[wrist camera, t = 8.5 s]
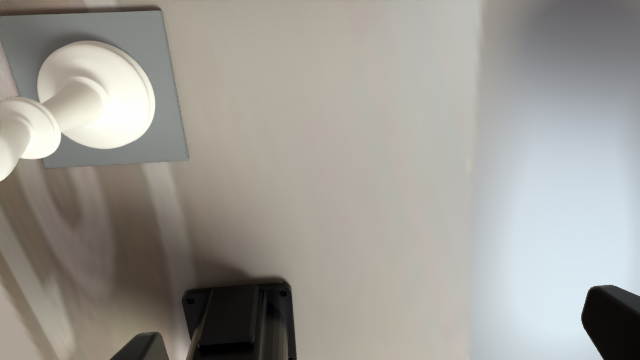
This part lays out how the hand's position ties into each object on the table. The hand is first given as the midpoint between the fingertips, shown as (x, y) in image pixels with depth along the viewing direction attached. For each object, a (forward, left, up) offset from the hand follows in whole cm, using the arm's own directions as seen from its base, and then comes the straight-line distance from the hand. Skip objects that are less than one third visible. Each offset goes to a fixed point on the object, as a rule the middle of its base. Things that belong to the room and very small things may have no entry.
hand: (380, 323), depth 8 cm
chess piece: (+3, +10, -13) cm, 17 cm away
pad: (+3, +11, -13) cm, 17 cm away
